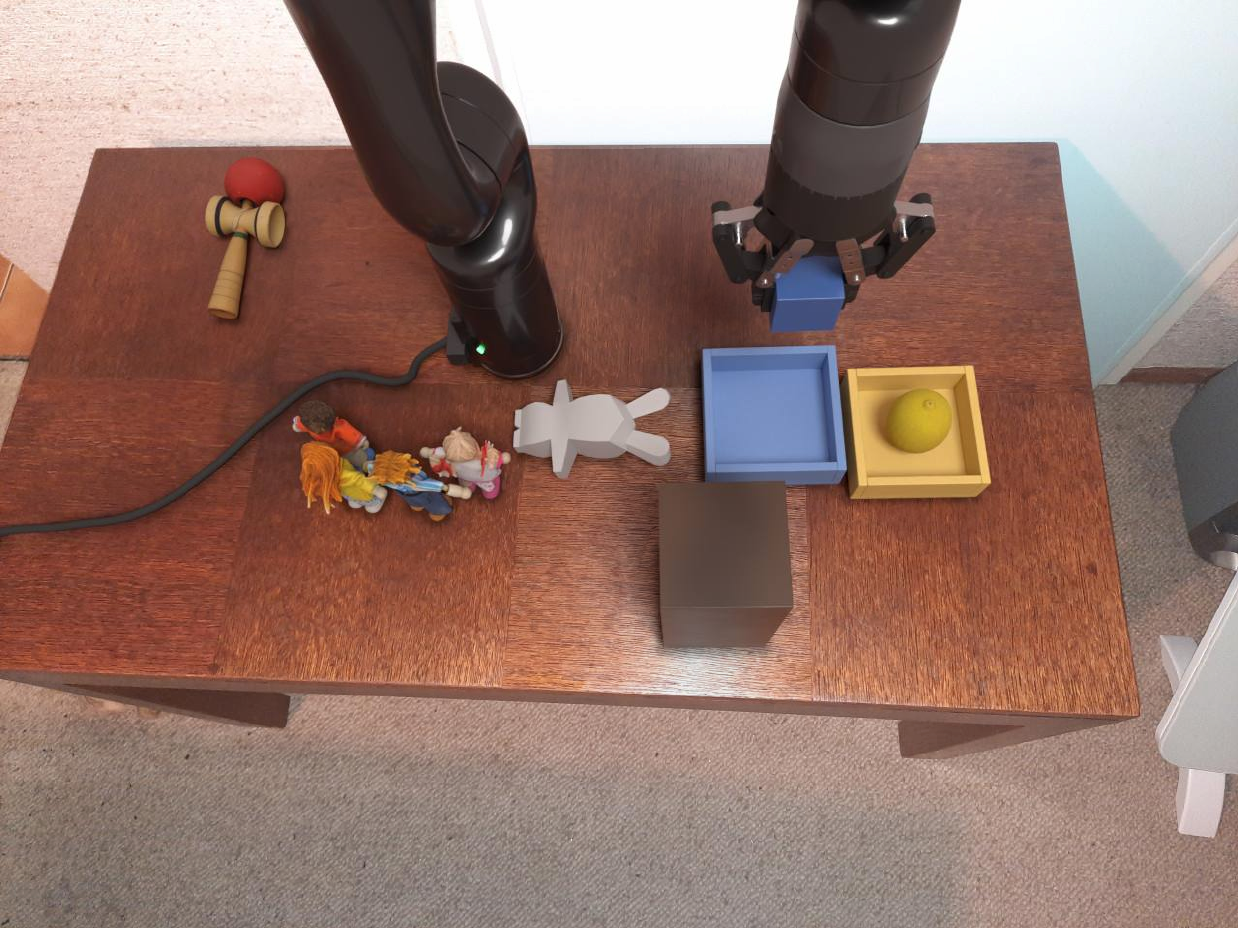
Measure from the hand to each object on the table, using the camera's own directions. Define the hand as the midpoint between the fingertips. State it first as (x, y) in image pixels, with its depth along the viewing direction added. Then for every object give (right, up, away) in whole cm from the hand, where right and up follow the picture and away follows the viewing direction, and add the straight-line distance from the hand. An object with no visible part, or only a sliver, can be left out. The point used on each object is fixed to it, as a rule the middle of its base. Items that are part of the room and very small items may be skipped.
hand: (800, 299), depth 61 cm
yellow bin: (+15, -10, +21) cm, 27 cm away
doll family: (-33, -15, +22) cm, 43 cm away
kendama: (-53, +12, +33) cm, 64 cm away
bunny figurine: (-15, -9, +23) cm, 29 cm away
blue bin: (+2, -8, +22) cm, 23 cm away
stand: (-4, -24, +17) cm, 30 cm away
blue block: (0, 0, +1) cm, 1 cm away
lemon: (+14, -9, +20) cm, 27 cm away
